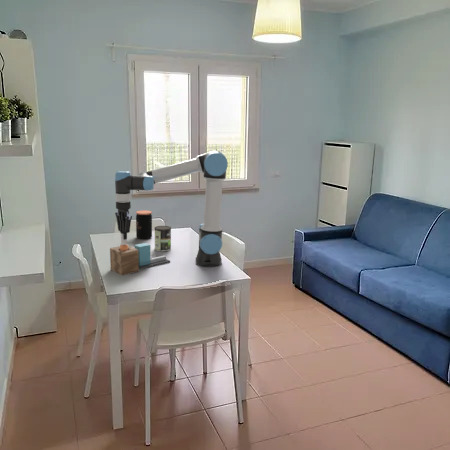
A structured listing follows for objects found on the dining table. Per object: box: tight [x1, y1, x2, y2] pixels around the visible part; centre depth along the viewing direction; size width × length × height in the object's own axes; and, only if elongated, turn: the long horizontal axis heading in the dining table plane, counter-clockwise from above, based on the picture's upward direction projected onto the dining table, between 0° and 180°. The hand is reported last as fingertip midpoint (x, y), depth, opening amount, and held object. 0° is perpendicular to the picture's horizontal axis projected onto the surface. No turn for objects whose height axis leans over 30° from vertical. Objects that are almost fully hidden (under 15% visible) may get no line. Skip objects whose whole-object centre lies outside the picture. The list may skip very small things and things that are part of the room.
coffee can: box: [154, 225, 172, 252], centre depth 280 cm, size 10×10×14 cm
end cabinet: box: [109, 245, 140, 276], centre depth 239 cm, size 12×11×12 cm
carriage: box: [134, 242, 151, 266], centre depth 247 cm, size 5×7×11 cm
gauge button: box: [120, 244, 129, 251], centre depth 238 cm, size 4×4×6 cm
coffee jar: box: [135, 209, 153, 240], centre depth 304 cm, size 11×11×18 cm
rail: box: [139, 255, 171, 271], centre depth 251 cm, size 8×22×3 cm, turn 133°
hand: (124, 244), depth 237 cm, fingers closed
